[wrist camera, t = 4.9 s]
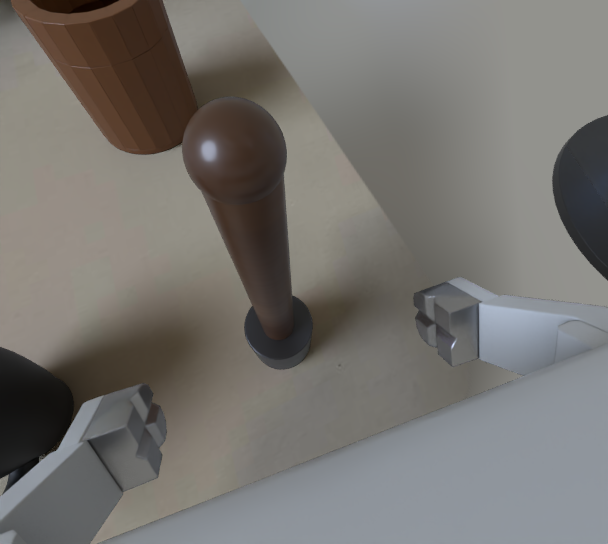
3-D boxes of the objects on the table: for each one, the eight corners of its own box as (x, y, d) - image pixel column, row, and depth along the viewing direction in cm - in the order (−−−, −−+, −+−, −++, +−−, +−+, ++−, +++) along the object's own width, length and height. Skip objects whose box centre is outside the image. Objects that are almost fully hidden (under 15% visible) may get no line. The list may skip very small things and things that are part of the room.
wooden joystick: (304, 309, 26) (317, 26, 7) (315, 363, 25) (371, 189, 5) (251, 318, 26) (109, 48, 7) (258, 374, 24) (94, 230, 5)
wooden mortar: (196, 81, 37) (152, -59, 26) (201, 147, 33) (152, 15, 22) (105, 92, 36) (20, -48, 25) (100, 160, 32) (-3, 30, 21)
